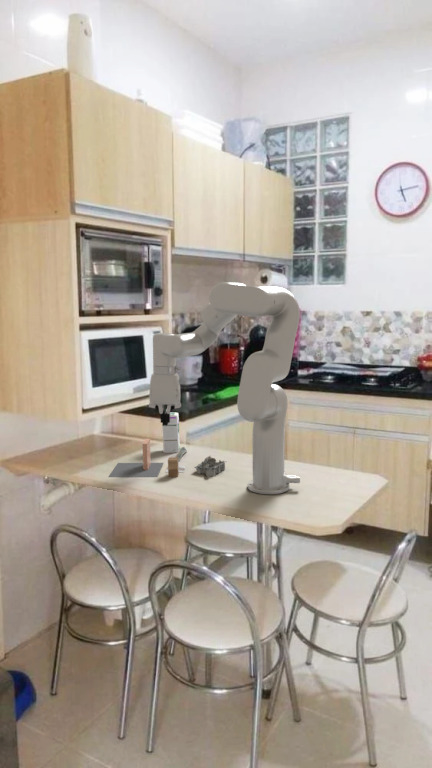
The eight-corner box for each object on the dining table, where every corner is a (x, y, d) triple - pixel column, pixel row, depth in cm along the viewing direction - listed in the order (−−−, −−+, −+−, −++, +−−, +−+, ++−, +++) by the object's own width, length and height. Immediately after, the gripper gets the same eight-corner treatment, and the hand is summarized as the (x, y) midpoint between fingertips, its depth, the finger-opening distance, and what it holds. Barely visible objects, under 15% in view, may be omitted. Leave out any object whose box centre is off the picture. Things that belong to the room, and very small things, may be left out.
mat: (163, 463, 206) (163, 462, 206) (157, 478, 190) (157, 476, 190) (118, 463, 206) (117, 462, 206) (108, 478, 191) (108, 477, 190)
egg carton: (210, 466, 203) (210, 455, 202) (229, 469, 199) (228, 457, 198) (192, 474, 194) (192, 462, 193) (211, 478, 190) (211, 465, 189)
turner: (182, 478, 190) (181, 459, 189) (163, 478, 190) (163, 460, 189) (185, 467, 201) (185, 450, 200) (168, 467, 202) (167, 450, 201)
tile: (150, 463, 204) (149, 438, 203) (147, 470, 197) (146, 443, 196) (146, 464, 204) (145, 438, 203) (143, 470, 198) (142, 443, 196)
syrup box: (178, 453, 219) (178, 415, 216) (163, 453, 219) (161, 415, 216) (180, 449, 224) (179, 411, 222) (164, 449, 224) (163, 412, 222)
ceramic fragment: (178, 464, 206) (178, 454, 205) (164, 464, 207) (164, 453, 206) (188, 454, 219) (187, 444, 219) (174, 454, 220) (174, 444, 220)
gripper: (188, 369, 199) (188, 422, 202) (143, 368, 200) (144, 421, 203) (186, 372, 192) (186, 427, 195) (140, 372, 192) (141, 427, 195)
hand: (165, 424), depth 199 cm, fingers closed
